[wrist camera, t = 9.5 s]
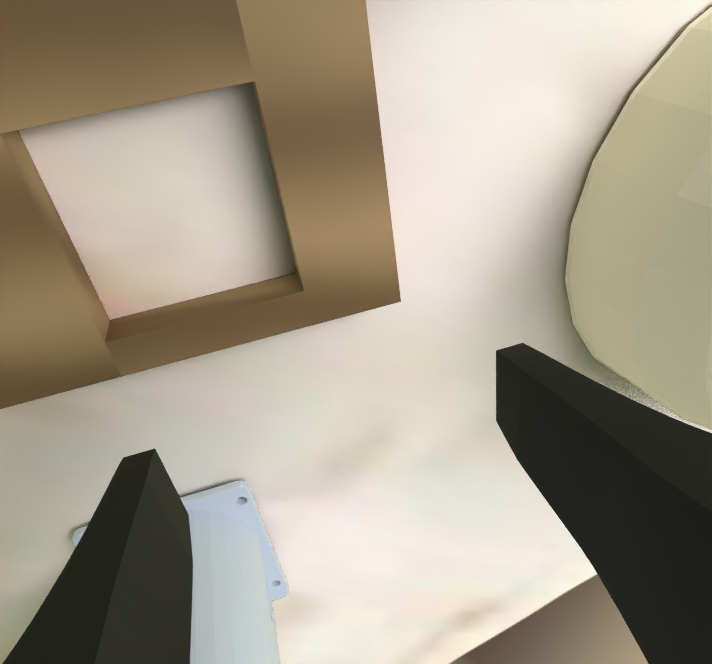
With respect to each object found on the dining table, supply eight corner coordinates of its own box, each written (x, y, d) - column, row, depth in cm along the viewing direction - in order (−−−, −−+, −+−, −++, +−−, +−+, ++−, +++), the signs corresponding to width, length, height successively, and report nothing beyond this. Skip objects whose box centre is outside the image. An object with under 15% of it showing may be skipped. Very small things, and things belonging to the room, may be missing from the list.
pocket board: (388, 283, 22) (400, 301, 21) (-27, 392, 20) (-41, 419, 19) (340, -87, 15) (354, -93, 14) (-295, 21, 13) (-343, 26, 12)
